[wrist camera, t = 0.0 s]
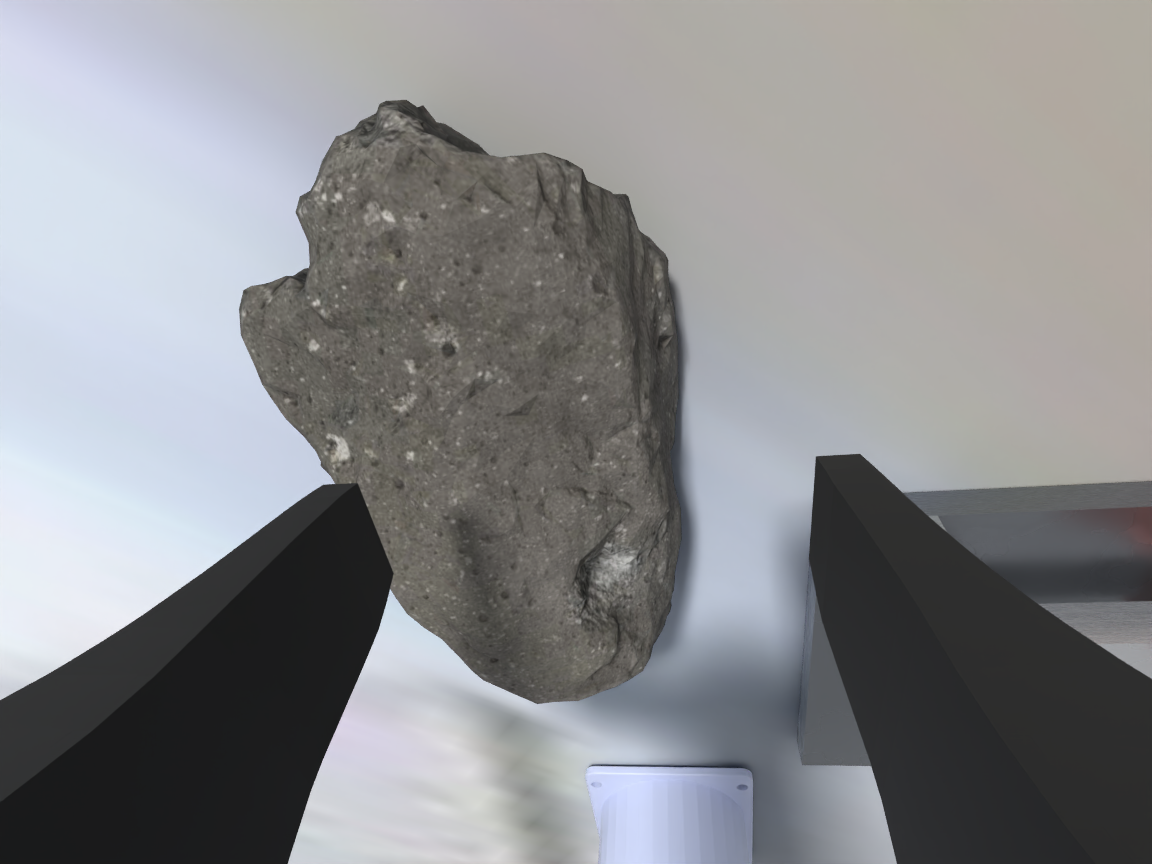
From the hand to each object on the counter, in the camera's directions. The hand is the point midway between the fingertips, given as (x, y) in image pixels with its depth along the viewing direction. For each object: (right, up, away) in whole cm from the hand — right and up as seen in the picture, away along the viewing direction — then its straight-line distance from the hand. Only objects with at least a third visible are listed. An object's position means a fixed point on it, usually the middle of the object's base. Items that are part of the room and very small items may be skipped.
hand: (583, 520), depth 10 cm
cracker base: (+16, -6, +14) cm, 22 cm away
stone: (-1, +3, +11) cm, 11 cm away
